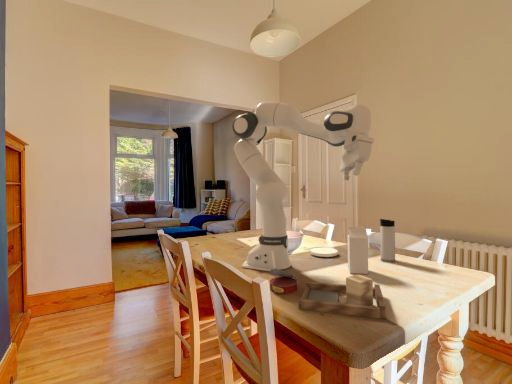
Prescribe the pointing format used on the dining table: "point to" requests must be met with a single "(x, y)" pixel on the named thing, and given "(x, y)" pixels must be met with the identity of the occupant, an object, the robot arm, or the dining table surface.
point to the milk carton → (357, 250)
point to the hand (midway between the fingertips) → (350, 177)
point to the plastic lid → (324, 252)
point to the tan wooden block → (359, 290)
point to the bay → (327, 301)
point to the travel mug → (387, 240)
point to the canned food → (282, 282)
